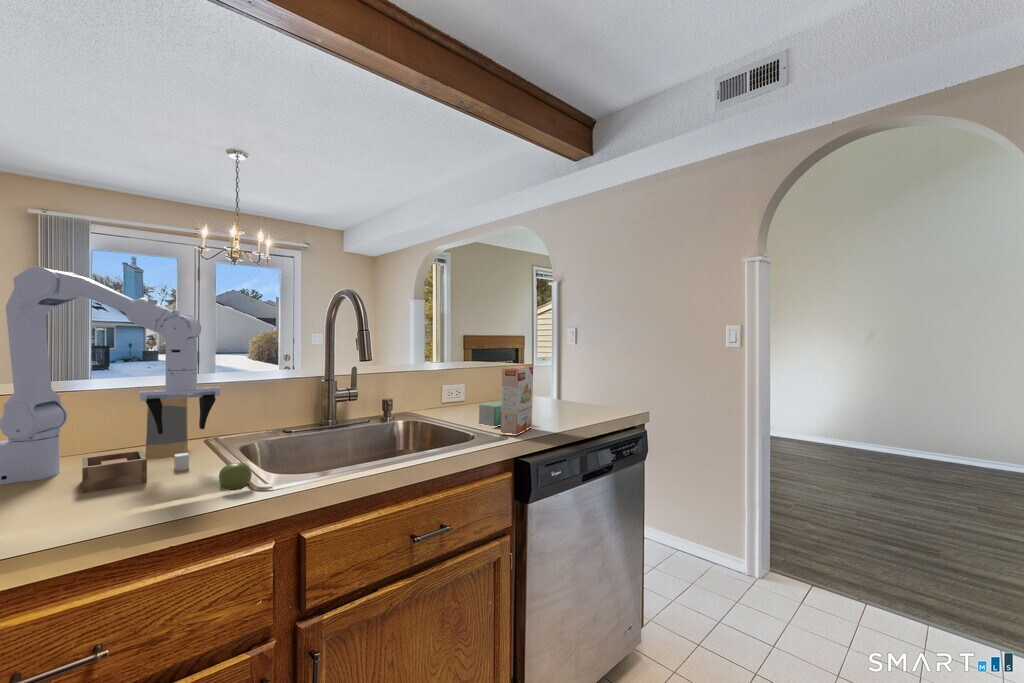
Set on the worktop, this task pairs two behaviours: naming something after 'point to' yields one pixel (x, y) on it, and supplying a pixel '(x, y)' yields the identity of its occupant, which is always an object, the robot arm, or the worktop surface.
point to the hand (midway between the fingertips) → (181, 430)
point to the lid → (181, 461)
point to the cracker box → (516, 399)
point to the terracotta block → (113, 461)
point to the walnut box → (113, 471)
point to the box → (490, 414)
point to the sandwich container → (168, 430)
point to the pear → (235, 476)
